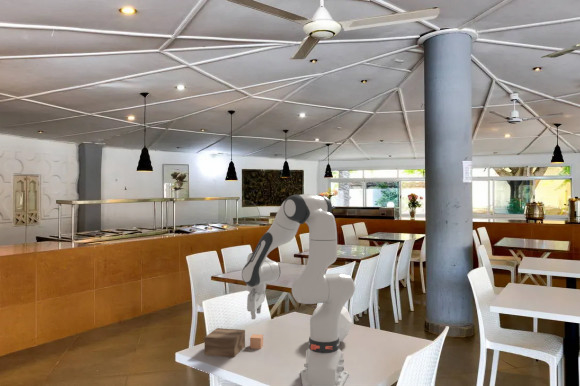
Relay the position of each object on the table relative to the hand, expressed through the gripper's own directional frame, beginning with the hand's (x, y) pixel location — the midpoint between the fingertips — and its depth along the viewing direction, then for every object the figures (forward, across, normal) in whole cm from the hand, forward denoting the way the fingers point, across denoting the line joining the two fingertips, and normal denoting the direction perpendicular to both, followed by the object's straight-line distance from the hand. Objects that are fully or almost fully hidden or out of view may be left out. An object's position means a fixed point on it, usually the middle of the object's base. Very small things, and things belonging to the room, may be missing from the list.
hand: (256, 316), depth 201 cm
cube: (+14, 0, 0) cm, 14 cm away
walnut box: (+14, -8, +13) cm, 21 cm away
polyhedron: (+14, +12, -34) cm, 39 cm away
